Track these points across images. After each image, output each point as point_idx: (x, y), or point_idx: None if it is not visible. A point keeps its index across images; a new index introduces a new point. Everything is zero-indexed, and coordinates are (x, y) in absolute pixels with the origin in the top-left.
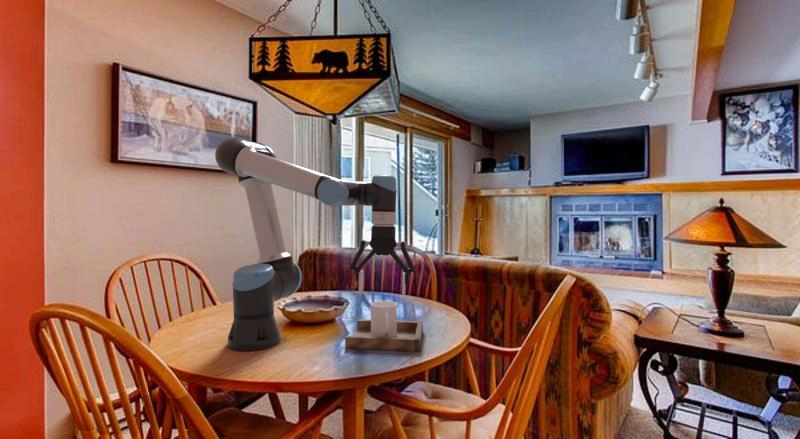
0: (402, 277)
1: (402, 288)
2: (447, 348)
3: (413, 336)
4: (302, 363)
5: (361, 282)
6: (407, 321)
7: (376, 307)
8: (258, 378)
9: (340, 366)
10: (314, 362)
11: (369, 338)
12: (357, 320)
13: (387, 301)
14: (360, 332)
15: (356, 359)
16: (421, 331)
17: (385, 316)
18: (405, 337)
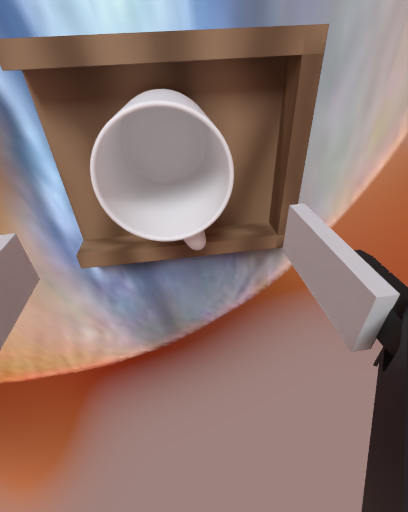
0: (335, 328)
1: (299, 272)
2: (352, 194)
3: (268, 128)
4: (48, 326)
5: (6, 321)
6: (254, 40)
7: (145, 237)
8: (23, 374)
9: (128, 321)
10: (68, 319)
11: (153, 260)
12: (3, 67)
13: (167, 107)
14: (62, 117)
15: (145, 292)
16: (303, 159)
17: (193, 249)
18: (241, 144)
